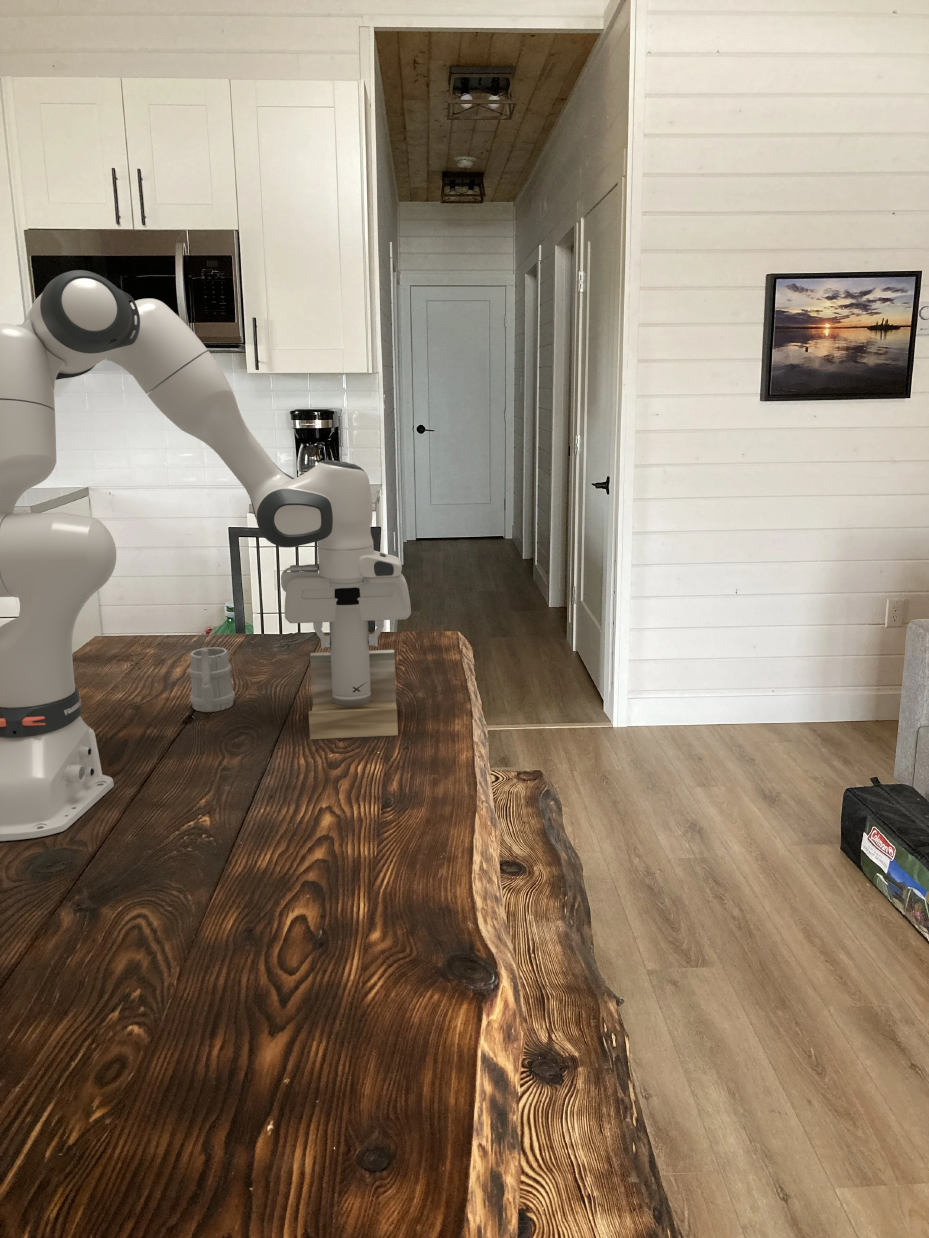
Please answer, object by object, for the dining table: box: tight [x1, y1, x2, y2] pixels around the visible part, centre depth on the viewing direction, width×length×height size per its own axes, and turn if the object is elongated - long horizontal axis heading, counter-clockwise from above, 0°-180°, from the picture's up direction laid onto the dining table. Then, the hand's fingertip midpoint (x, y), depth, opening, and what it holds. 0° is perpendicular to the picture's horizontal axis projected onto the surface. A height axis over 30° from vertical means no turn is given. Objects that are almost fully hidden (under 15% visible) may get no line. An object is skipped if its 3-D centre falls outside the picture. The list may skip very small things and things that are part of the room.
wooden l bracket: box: [308, 649, 399, 740], centre depth 156 cm, size 12×14×11 cm
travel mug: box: [328, 587, 371, 706], centre depth 154 cm, size 6×7×20 cm
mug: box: [188, 646, 236, 713], centre depth 164 cm, size 8×12×12 cm, turn 9°
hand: (349, 646), depth 154 cm, fingers closed on travel mug, 6 cm apart
